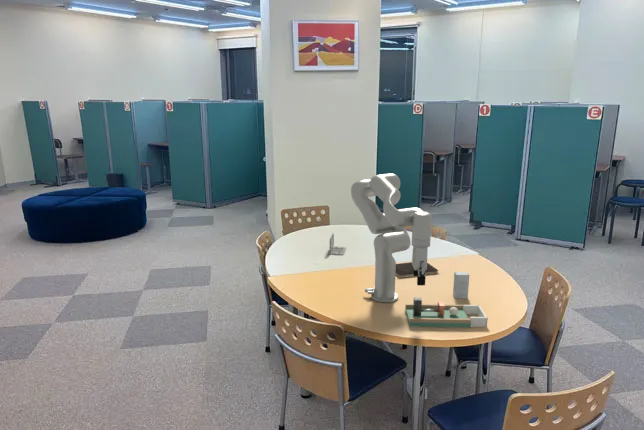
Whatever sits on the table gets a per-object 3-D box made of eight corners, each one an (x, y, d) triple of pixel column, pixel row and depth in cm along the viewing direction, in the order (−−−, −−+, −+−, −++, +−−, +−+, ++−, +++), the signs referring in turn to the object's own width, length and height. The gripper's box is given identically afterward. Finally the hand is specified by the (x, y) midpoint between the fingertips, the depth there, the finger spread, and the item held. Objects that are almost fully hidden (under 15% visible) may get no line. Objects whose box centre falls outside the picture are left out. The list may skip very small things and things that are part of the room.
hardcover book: (438, 274, 249) (438, 270, 248) (399, 279, 243) (399, 275, 242) (423, 264, 264) (424, 260, 263) (386, 268, 258) (386, 264, 257)
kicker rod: (414, 316, 197) (414, 301, 195) (412, 311, 201) (413, 296, 199) (443, 316, 196) (445, 301, 194) (441, 311, 200) (442, 297, 199)
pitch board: (409, 326, 193) (409, 318, 192) (405, 311, 206) (405, 303, 205) (470, 327, 192) (471, 319, 191) (462, 312, 205) (462, 304, 204)
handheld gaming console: (343, 255, 277) (343, 239, 274) (328, 254, 278) (328, 238, 276) (346, 248, 290) (346, 233, 287) (331, 247, 291) (331, 232, 288)
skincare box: (464, 294, 223) (466, 271, 220) (467, 298, 219) (469, 274, 216) (452, 294, 223) (454, 271, 219) (455, 298, 218) (456, 275, 215)
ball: (450, 317, 197) (450, 309, 196) (448, 313, 200) (448, 305, 199) (458, 317, 196) (459, 309, 196) (456, 313, 200) (457, 305, 199)
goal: (469, 326, 193) (470, 317, 192) (462, 313, 204) (463, 304, 203) (486, 326, 192) (487, 318, 191) (478, 313, 204) (479, 305, 203)
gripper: (408, 235, 199) (407, 272, 203) (414, 248, 182) (413, 288, 187) (426, 235, 199) (424, 272, 203) (434, 248, 182) (431, 288, 186)
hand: (419, 280), depth 195 cm, fingers open, 9 cm apart
